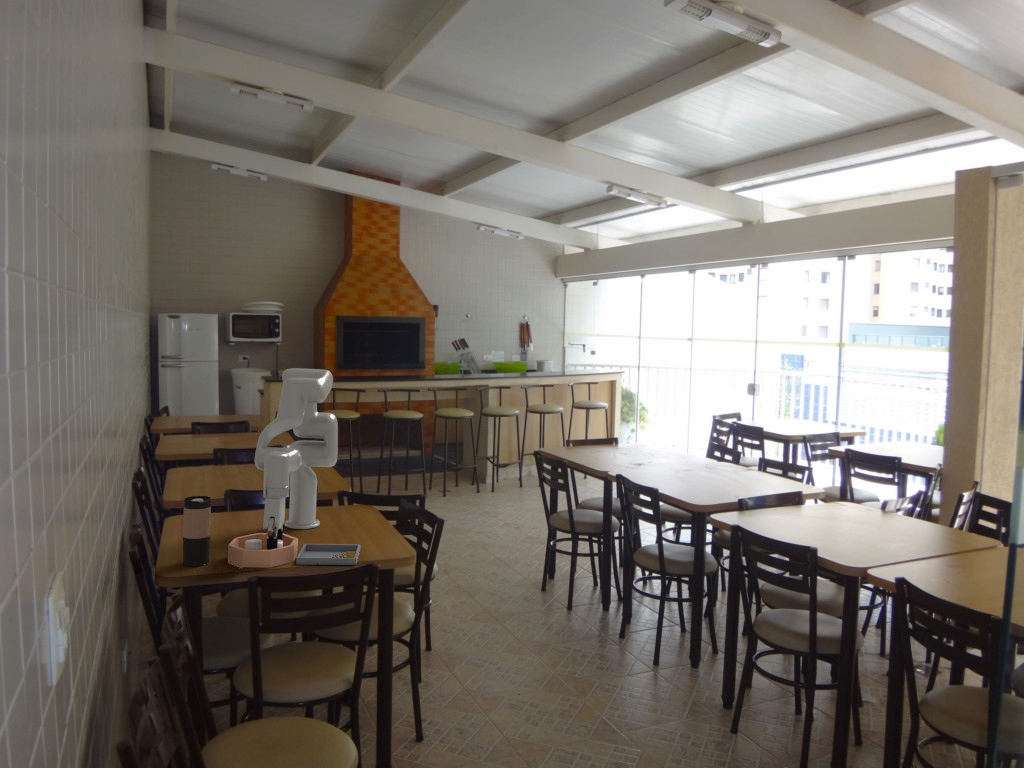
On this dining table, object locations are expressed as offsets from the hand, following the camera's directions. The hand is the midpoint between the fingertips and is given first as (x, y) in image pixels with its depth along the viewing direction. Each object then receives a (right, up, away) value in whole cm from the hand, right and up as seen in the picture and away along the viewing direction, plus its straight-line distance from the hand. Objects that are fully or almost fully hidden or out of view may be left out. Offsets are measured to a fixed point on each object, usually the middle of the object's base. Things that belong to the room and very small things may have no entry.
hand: (274, 547), depth 225 cm
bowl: (-3, -4, 0) cm, 5 cm away
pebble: (0, -3, 0) cm, 3 cm away
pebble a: (-6, -3, -1) cm, 7 cm away
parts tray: (+16, -5, +3) cm, 17 cm away
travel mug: (-22, -4, -6) cm, 23 cm away
